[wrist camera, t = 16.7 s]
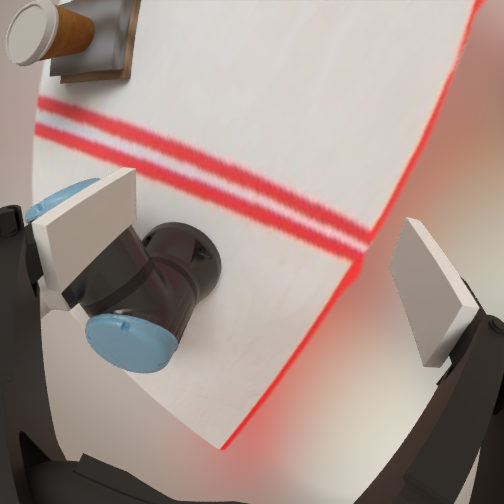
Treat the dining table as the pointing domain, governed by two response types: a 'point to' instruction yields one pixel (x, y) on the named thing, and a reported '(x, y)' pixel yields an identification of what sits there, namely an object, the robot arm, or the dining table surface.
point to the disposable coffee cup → (46, 33)
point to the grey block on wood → (101, 42)
